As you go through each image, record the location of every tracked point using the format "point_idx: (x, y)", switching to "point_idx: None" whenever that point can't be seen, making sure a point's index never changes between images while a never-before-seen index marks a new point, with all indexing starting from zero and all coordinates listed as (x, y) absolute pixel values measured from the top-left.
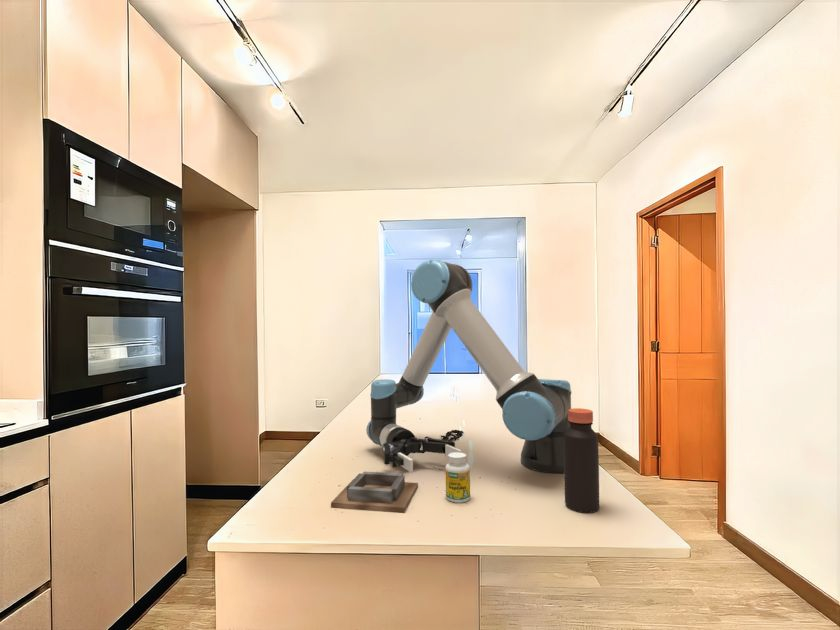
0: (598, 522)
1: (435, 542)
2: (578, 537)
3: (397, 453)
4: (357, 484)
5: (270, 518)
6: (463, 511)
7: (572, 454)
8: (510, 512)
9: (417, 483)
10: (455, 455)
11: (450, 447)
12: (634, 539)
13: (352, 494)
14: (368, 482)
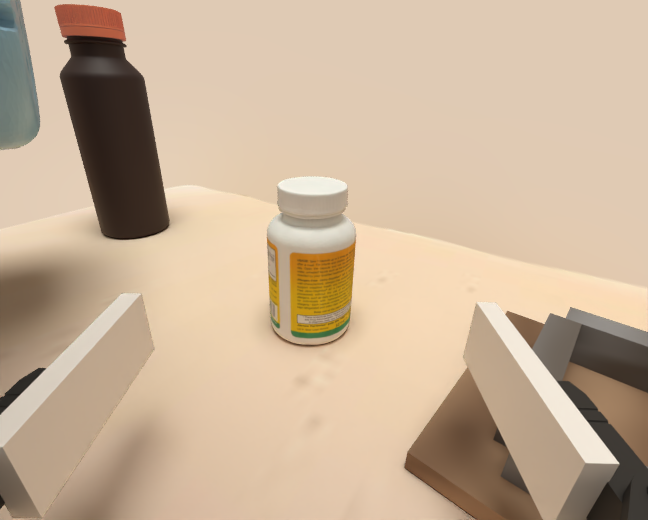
0: (186, 210)
1: (453, 245)
2: (252, 206)
3: (624, 511)
4: None
5: None
6: None
7: (149, 116)
8: (261, 252)
9: (412, 446)
10: (322, 184)
11: (76, 368)
12: (204, 194)
13: None
14: None
